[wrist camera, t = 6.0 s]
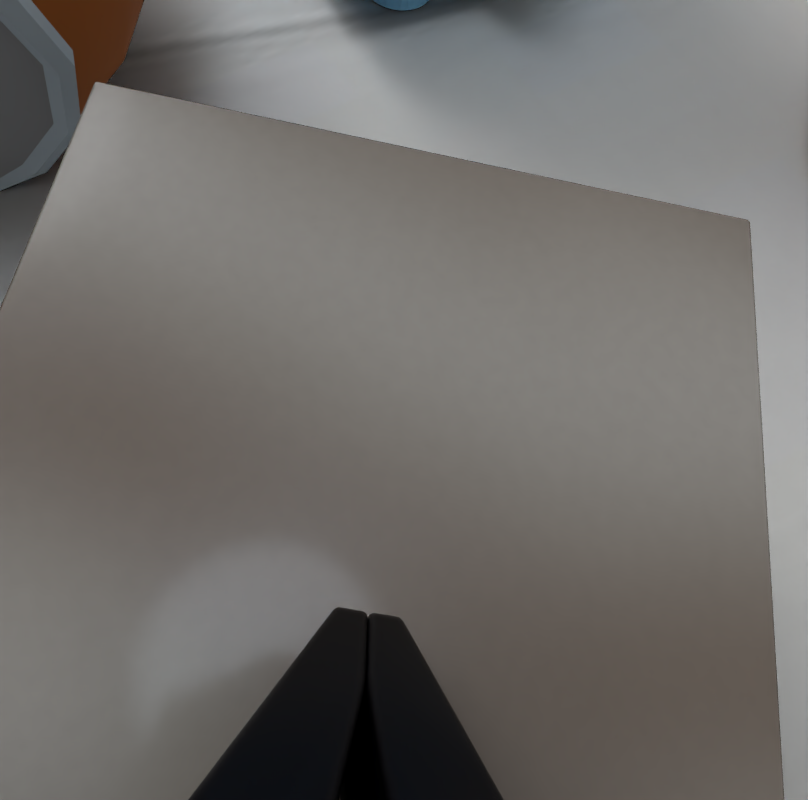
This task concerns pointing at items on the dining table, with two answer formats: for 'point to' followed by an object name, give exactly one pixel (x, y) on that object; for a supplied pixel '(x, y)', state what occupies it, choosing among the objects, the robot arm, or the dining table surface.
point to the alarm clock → (53, 74)
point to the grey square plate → (377, 459)
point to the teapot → (401, 4)
